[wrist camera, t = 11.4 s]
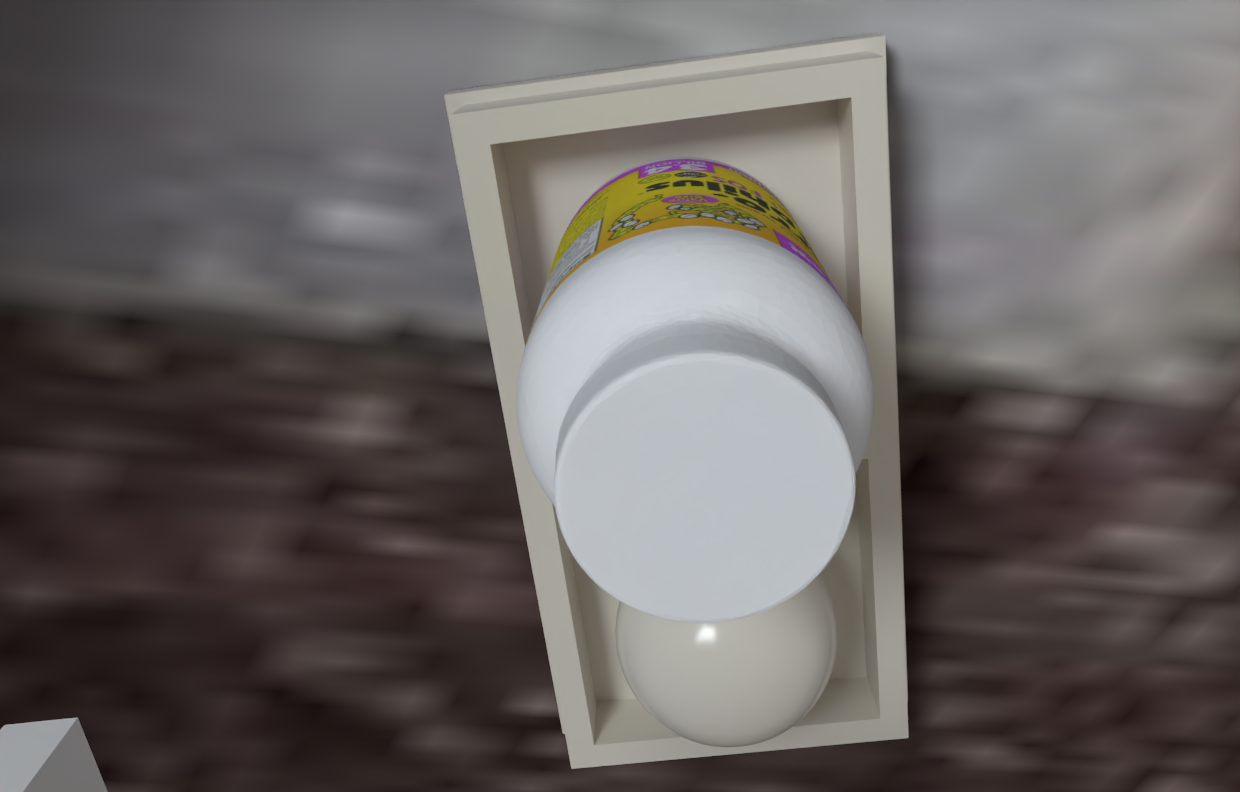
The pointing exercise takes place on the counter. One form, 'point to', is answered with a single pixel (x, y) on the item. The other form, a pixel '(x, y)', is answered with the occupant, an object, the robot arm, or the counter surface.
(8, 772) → the robot arm
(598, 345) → the supplement bottle
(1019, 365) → the counter surface
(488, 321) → the carrier
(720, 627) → the ivory egg
